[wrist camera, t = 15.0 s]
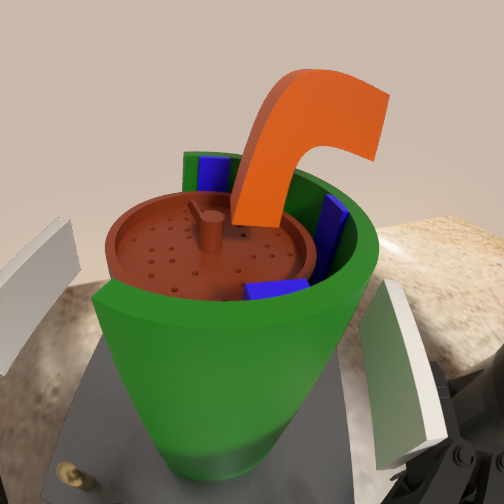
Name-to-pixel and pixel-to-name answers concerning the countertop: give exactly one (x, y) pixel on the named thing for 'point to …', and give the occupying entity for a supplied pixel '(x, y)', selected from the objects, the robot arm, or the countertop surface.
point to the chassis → (184, 489)
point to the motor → (242, 280)
